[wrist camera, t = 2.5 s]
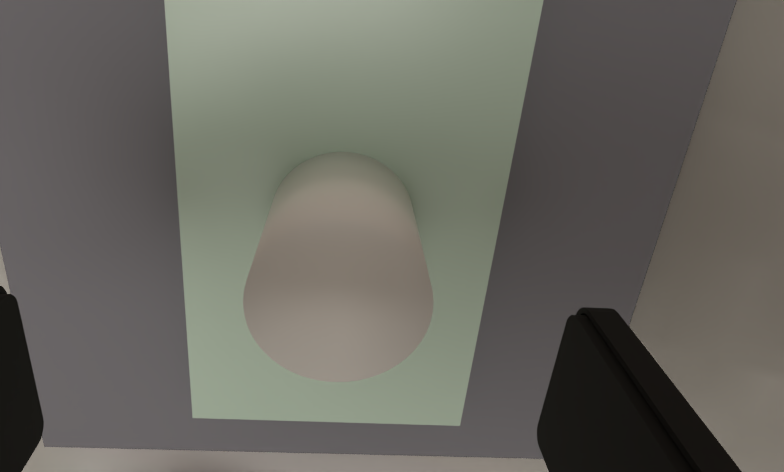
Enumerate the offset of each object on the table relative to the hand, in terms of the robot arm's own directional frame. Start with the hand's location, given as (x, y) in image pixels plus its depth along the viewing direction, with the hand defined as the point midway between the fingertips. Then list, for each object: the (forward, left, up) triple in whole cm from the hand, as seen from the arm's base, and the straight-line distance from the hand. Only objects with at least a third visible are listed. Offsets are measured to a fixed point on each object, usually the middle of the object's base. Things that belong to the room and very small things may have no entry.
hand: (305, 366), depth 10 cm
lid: (-1, 0, -8) cm, 8 cm away
